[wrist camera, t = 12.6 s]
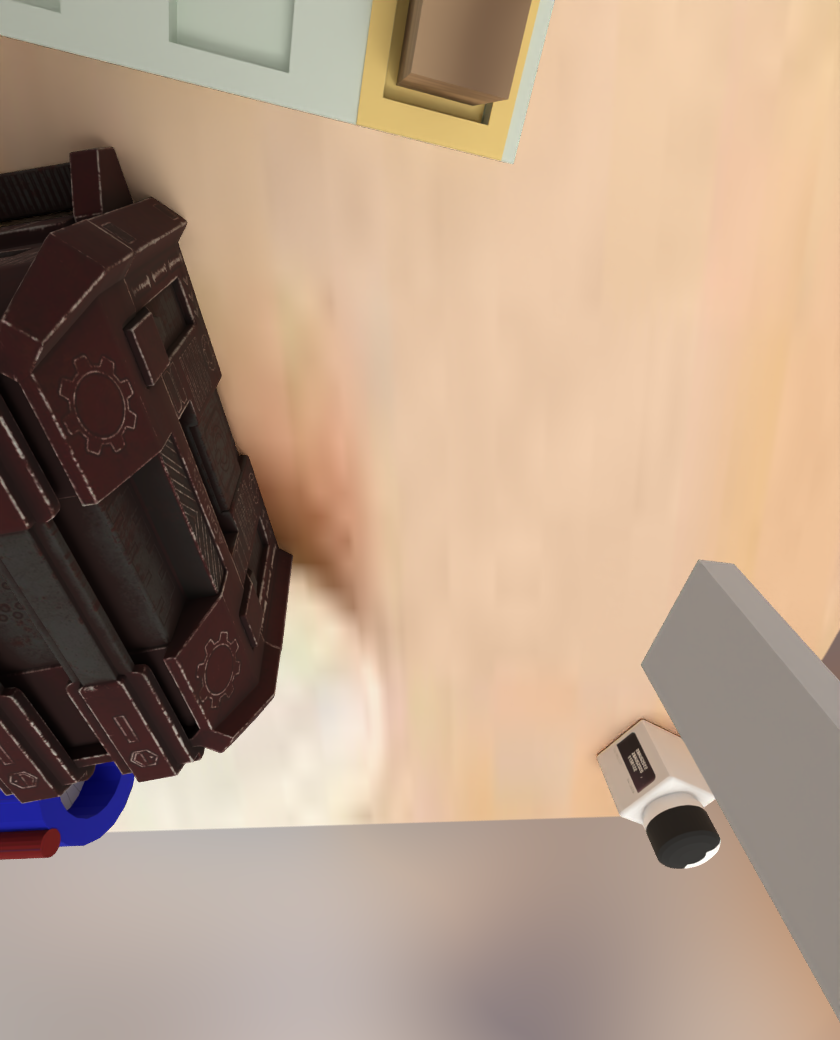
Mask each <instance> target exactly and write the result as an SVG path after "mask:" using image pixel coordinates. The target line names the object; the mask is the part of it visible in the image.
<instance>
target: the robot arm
mask: <svg viewBox="0 0 840 1040" xmlns="http://www.w3.org/2000/svg"><path fill="white" fill-rule="evenodd" d="M641 666H642V668H643V670H644V671H645V673H646V675H647V677H648V679H649V680H650V682H651V684H652V686H653V688H654V689H655V691H656V693H657V695H658V697H659V698H660V700H661V702H662V704H663V706H664V707H665V709H666V711H667V713H668V715H669V716H670V718H671V720H672V722H673V723H674V725H675V727H676V729H677V731H678V732H679V734H680V736H681V738H682V740H683V741H684V743H685V745H686V747H687V749H688V750H689V752H690V754H691V756H692V758H693V759H694V761H695V763H696V765H697V767H698V768H699V770H700V772H701V774H702V776H703V777H704V779H705V781H706V783H707V785H708V786H709V788H710V790H711V792H712V793H713V795H714V797H715V799H716V800H717V802H718V804H719V806H720V808H721V810H722V811H723V813H724V815H725V817H726V819H727V820H728V822H729V824H730V826H731V828H732V829H733V831H734V833H735V835H736V836H737V838H738V840H739V842H740V844H741V846H742V847H743V849H744V851H745V853H746V855H747V856H748V858H749V860H750V862H751V863H752V865H753V867H754V869H755V871H756V872H757V874H758V876H759V878H760V880H761V881H762V883H763V885H764V887H765V889H766V890H767V892H768V894H769V896H770V897H771V899H772V901H773V903H774V905H775V906H776V908H777V910H778V911H779V914H780V916H781V917H782V919H783V921H784V923H785V924H786V926H787V928H788V930H789V932H790V933H791V935H792V937H793V939H794V941H795V942H796V944H797V946H798V948H799V950H800V951H801V953H802V955H803V957H804V959H805V960H806V962H807V964H808V966H809V967H810V969H811V971H812V973H813V975H814V976H815V978H816V980H817V982H818V984H819V986H820V987H821V989H822V991H823V993H824V994H825V996H826V998H827V1000H828V1002H829V1003H830V1005H831V1007H832V1009H833V1011H834V1012H835V1014H836V1016H837V1018H838V1020H839V1021H840V681H839V680H838V679H837V678H836V677H835V675H834V674H833V673H832V672H831V671H830V670H829V669H828V668H827V667H826V666H825V664H824V663H823V662H822V661H821V660H820V659H819V658H818V657H817V655H816V654H815V653H814V652H813V651H812V650H811V649H810V648H809V647H808V646H807V644H806V643H805V642H804V641H803V640H802V639H801V638H800V637H799V636H798V634H797V633H796V632H795V631H794V630H793V629H792V628H791V627H790V626H789V624H788V623H787V622H786V621H785V620H784V619H783V618H782V617H781V616H780V614H779V613H778V612H777V611H776V610H775V609H774V608H773V607H772V606H771V604H770V603H769V602H768V601H767V600H766V599H765V598H764V597H763V596H762V594H761V593H760V592H759V591H758V590H757V589H756V588H755V587H754V586H753V585H752V583H751V582H750V581H749V580H748V579H747V578H746V577H745V576H744V575H743V573H742V572H741V571H740V570H739V569H738V568H737V567H736V566H735V565H734V564H731V563H723V562H714V561H706V560H698V561H697V563H696V565H695V567H694V568H693V570H692V572H691V574H690V576H689V578H688V579H687V581H686V583H685V585H684V587H683V589H682V590H681V592H680V594H679V596H678V598H677V600H676V601H675V603H674V605H673V607H672V609H671V610H670V612H669V614H668V616H667V618H666V620H665V621H664V623H663V625H662V627H661V629H660V631H659V632H658V634H657V636H656V638H655V640H654V642H653V643H652V645H651V647H650V649H649V651H648V652H647V654H646V656H645V658H644V660H643V662H642V663H641Z"/></svg>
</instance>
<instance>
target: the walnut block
mask: <svg viewBox="0 0 840 1040" xmlns="http://www.w3.org/2000/svg"><path fill="white" fill-rule="evenodd" d="M531 2H532V0H409V6H408V13H407V19H406V25H405V32H404V38H403V44H402V51H401V57H400V63H399V70H398V76H397V82H396V86H400V87H404V88H407V89H411V90H415V91H419V92H422V93H426V94H430V95H433V96H437V97H441V98H445V99H448V100H452V101H456V102H459V103H463V104H467V105H471V106H476V105H481V104H486V103H492V102H497V101H503V100H508V98H509V94H510V90H511V86H512V82H513V77H514V73H515V69H516V65H517V61H518V56H519V52H520V48H521V44H522V40H523V35H524V31H525V27H526V23H527V19H528V14H529V10H530V6H531Z"/></svg>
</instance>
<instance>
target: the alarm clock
mask: <svg viewBox="0 0 840 1040" xmlns="http://www.w3.org/2000/svg"><path fill="white" fill-rule="evenodd" d="M133 782H134V775H133V773H130V774H124V775H122V773H121V772H120V770H119V769H118V767H117V766H116V764H115V763H114V761H113V762H107V763H102V764H96V766H95V771H94V773H93V775H92V776H91V777H90V778H89V779H88V780H86V781H81V782H78V783H74V784H72V785H71V786H70V787H69V788H68V789H67V790H66V791H65V792H64V793H63V794H62V795H61V796H60V797H55V798H49V799H44V800H38V801H33V802H27V803H21V802H20V801H19V800H18V799H17V798H16V797H15V795H14V794H13V795H8V796H6V795H5V794H4V793H3V792H2V790H1V789H0V860H2V859H26V858H48V857H51V856H53V855H54V854H55V853H56V851H57V850H58V848H59V847H60V846H61V847H62V846H84V845H86V844H88V843H90V842H93V841H95V840H97V839H98V838H100V837H101V836H102V835H103V834H105V833H106V832H107V831H108V830H109V829H110V828H111V827H112V826H113V825H114V823H115V822H116V820H117V819H118V817H119V815H120V814H121V812H122V811H123V809H124V807H125V805H126V803H127V800H128V797H129V795H130V792H131V789H132V787H133Z"/></svg>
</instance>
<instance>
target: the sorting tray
mask: <svg viewBox="0 0 840 1040" xmlns="http://www.w3.org/2000/svg"><path fill="white" fill-rule="evenodd" d="M554 1H555V0H532V2H531V6H530V10H529V14H528V19H527V23H526V27H525V31H524V35H523V40H522V44H521V48H520V52H519V56H518V61H517V65H516V69H515V73H514V77H513V82H512V86H511V90H510V94H509V98H508V100H503V101H497V102H492V103H486V104H481V105H476V106H471V105H467V104H463V103H459V102H456V101H452V100H448V99H445V98H441V97H437V96H433V95H430V94H426V93H422V92H419V91H415V90H411V89H407V88H404V87H400V86H396V82H397V76H398V70H399V63H400V57H401V51H402V44H403V38H404V32H405V25H406V19H407V13H408V6H409V0H0V36H4V37H8V38H12V39H16V40H20V41H24V42H28V43H32V44H36V45H40V46H44V47H48V48H52V49H56V50H60V51H64V52H67V53H71V54H75V55H79V56H83V57H87V58H91V59H95V60H99V61H103V62H107V63H111V64H115V65H119V66H123V67H127V68H131V69H135V70H139V71H143V72H147V73H151V74H155V75H159V76H163V77H167V78H171V79H175V80H179V81H183V82H187V83H191V84H195V85H199V86H203V87H207V88H210V89H214V90H218V91H222V92H226V93H230V94H234V95H238V96H242V97H246V98H250V99H254V100H258V101H262V102H266V103H270V104H274V105H278V106H282V107H286V108H290V109H294V110H298V111H302V112H306V113H310V114H314V115H318V116H322V117H326V118H330V119H334V120H338V121H342V122H346V123H350V124H353V125H357V126H361V127H365V128H369V129H373V130H377V131H381V132H385V133H389V134H393V135H397V136H401V137H405V138H409V139H413V140H417V141H421V142H425V143H429V144H433V145H437V146H441V147H445V148H449V149H453V150H457V151H461V152H465V153H469V154H473V155H477V156H481V157H485V158H489V159H493V160H496V161H500V162H505V163H510V164H514V160H515V156H516V152H517V148H518V144H519V140H520V136H521V132H522V128H523V124H524V120H525V116H526V112H527V108H528V104H529V100H530V97H531V93H532V89H533V85H534V81H535V77H536V73H537V69H538V65H539V61H540V57H541V53H542V49H543V45H544V41H545V37H546V33H547V29H548V25H549V21H550V17H551V13H552V9H553V5H554Z"/></svg>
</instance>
